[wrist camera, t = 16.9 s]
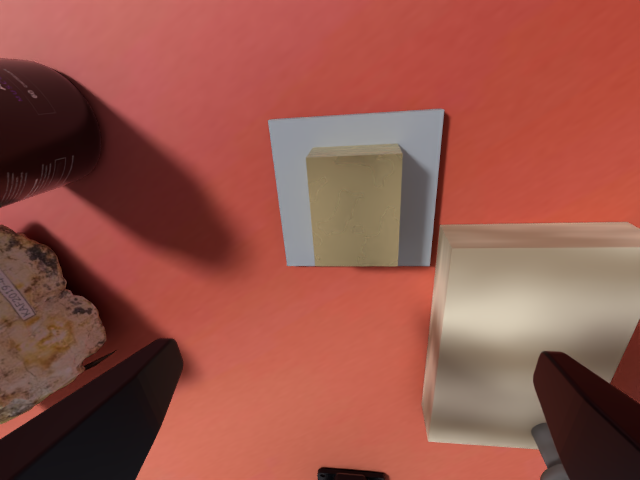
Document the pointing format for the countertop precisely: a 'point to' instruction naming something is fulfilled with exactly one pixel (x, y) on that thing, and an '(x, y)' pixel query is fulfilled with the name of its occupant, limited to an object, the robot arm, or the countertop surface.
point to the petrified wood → (40, 326)
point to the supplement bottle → (42, 131)
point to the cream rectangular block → (523, 324)
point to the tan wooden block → (355, 204)
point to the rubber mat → (348, 130)
